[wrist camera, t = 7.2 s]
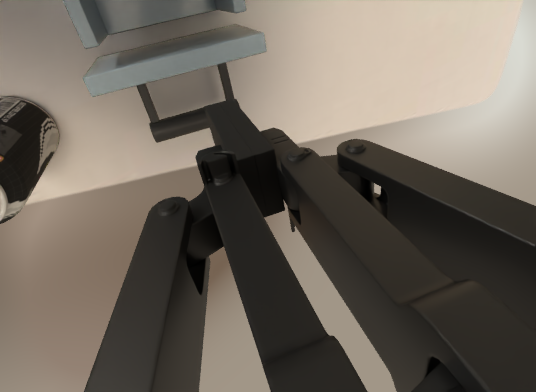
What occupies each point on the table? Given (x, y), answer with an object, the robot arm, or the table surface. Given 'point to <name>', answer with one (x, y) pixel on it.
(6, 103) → the beverage can
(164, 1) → the drawer
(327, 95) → the table surface
